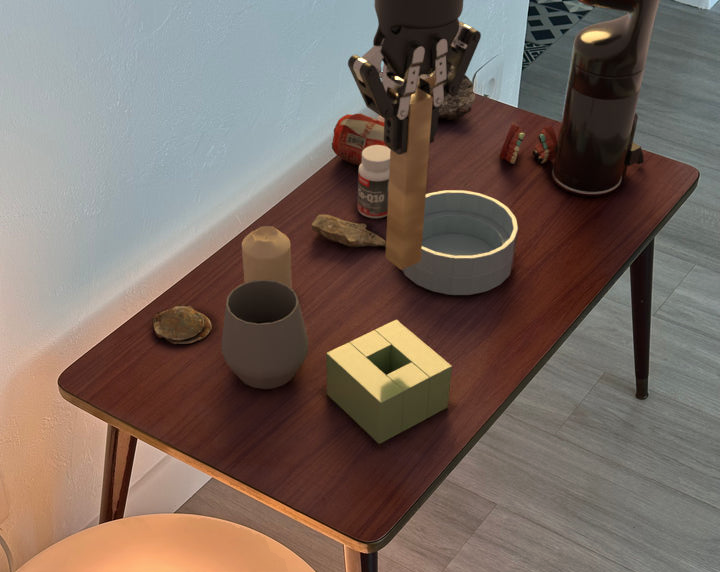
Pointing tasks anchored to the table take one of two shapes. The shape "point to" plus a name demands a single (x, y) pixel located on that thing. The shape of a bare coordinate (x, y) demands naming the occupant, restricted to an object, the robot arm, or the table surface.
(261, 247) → the candle
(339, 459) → the table surface
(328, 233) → the artifact
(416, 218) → the stick
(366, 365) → the stand
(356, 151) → the beverage can
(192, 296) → the table surface
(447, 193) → the bowl
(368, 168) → the pill bottle
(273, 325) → the cup
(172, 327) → the decorative disc
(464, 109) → the rock
